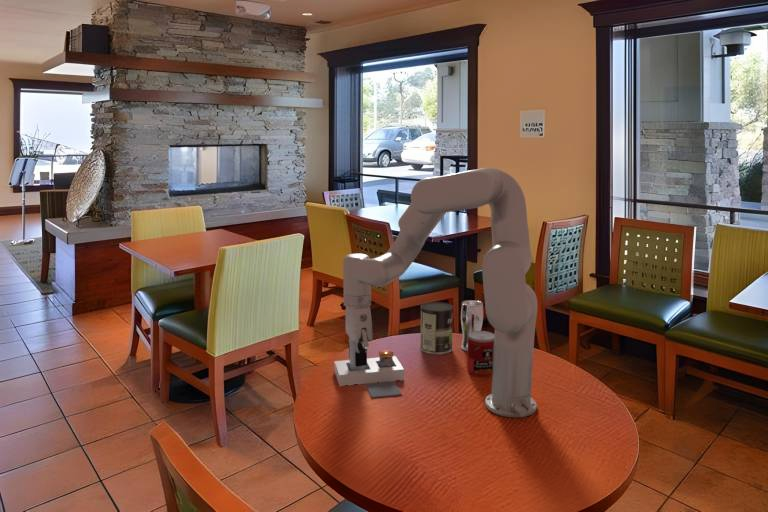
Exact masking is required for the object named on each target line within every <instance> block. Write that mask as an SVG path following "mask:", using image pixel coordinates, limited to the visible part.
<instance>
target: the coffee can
mask: <svg viewBox="0 0 768 512" xmlns="http://www.w3.org/2000/svg"><path fill="white" fill-rule="evenodd" d="M453 312H454V306H453V305H452V304H450V303H447V302H440V301H431V302H424V303H421V305H420V343H419V344H420V346H419V350H420V351H422V352H423V353H425V354H429V355H446V354H449V353H451V352H452V351H453V321H454V319H453V318H454V317H453V315H454V313H453Z"/></svg>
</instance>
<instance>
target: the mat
mask: <svg viewBox="0 0 768 512" xmlns="http://www.w3.org/2000/svg"><path fill="white" fill-rule="evenodd" d="M365 387H366V389H367V391H368V394H369V395H370V397H371V399H379V398H387V397H398V395H399V396H402V392H401V390H400V388H399V387H398V385H397V383H396V381H390V382H379V383H369V384H365Z"/></svg>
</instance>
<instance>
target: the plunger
mask: <svg viewBox="0 0 768 512" xmlns="http://www.w3.org/2000/svg"><path fill="white" fill-rule="evenodd" d="M393 356H394V351H393V350H389V349H382V350H379V351H378V357H380V368H383V367H392V357H393Z"/></svg>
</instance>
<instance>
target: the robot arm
mask: <svg viewBox="0 0 768 512" xmlns="http://www.w3.org/2000/svg"><path fill="white" fill-rule="evenodd" d="M410 200H411V202H410V204H409V205H408V207H407V208H406V209H405V211H404V212H403V214H402V215H401V216H400V218H399V220H398V222H397V223H398V225H397V226H398V228H399V233H398V235H397V236H396V238H395V240H394V242H393V243H392V245H391V246H390V247H389V249H388V250H387V251H386V252H385V253H383V254H381V255H379V256H376V257H373V258H371V257H370V255H368V254H365V253H348V254H346V255H345V256H344V257H343V260H342V274H343V275H342V277H343V278H342V279H343V285H342V286H343V306H344V307H345V320H344V321H345V332H346V333H345V334H347V336H348V345H349V346H348V358H349V359H348V360H350V342H349V340H350V338H351V339H352V340H353V341H355V342H356V352H355V365H356V366H357V367H358V366H364V365H367V358H368V348H369V342H372V341H373V320H372V313H371V312H372V311H371V305H372V287H377V288H382V287H385V286H386V285H388V284H390V283H392V282H393V281H395V280H397V279H399V278H400V277H401V276H403V275H404V274H405V272H406V271H407V270H408V269H409V268H410V266H411V264H412V263H413V262H414V261H415V259H416V258H417V257H418V255H419V254H420V252H421V250H422V248H423V247H424V245H425V242H426V240H427V239H428V238H429V236H430V235H431V233H432V232H433V231H434V229H435V228H436V227H437V226H438V225H439V222H441V220H442V219H443V218H444V217H445V214H446V213H451V212H457V211H464V210H465V211H466V210H471V209H476V208H480V207H481V208H482V207H484V206H486V205H488V206H489V207H490V227H491V228H490V229H491V241H492V246H491V248H490V249H489V250H488V251H487V252H486V254H485V256H484V257H483V262H482V268H481V269H482V283H483V284H482V285H483V297H484V305H485V313H486V317H487V320H488V323H489V324H490V326H492V328H493V329H494V333H493V334H494V349H493V373H492V375H491V378H492V379H491V393H489V394H488V395H487V396H486V397H485V399H484V405H485V407H486V408H487V410H489V411H490V412H491V413H494V414H496V415H498V416H502V417H505V418H525V417H529V416H532V415H533V414H535V413H536V411H537V407H538V406H537V402H536V401H535V399H534V398H533V397H531V396H532V383H533V382H532V380H533V363H534V348H535V347H534V345H535V335H536V324H537V317H538V316H537V315H538V307H539V306H538V304H539V303H538V298H537V294H536V293H535V291H534V289H533V287H531V286H530V285H528V284H526V283H527V281H526V274H527V272H528V271H529V270H530V269H531V268H530V267H531V265H532V252H531V243H530V232H529V231H530V230H529V223H528V221H529V220H528V213H527V212H528V211H527V204H526V203H527V202H526V199H525V194H524V192H523V189H522V188H521V186H520V184H519V183H518V181H517V180H516V179H515V178H514V177H513V176H511V175H510V174H508V172H505V171H503V170H500V169H497V168H493V167H481V168H477V169H471V170H467V171H462V172H457V173H450V174H446V175H438V176H436V175H435V176H431V177H425V178H422V179H420V180H418V181H417V182H416V183H415V184H414V185H413V188H412V190H411V193H410ZM359 339H362V341H359ZM361 343H362V345H360V347H359V344H361Z"/></svg>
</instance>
